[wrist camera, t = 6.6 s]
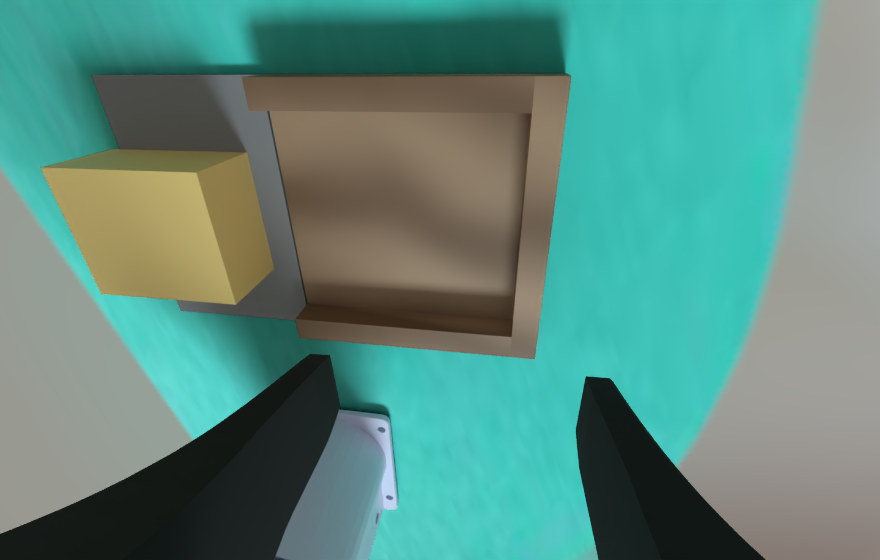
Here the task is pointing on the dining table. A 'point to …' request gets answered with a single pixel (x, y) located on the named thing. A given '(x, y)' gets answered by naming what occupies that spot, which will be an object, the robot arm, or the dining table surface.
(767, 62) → the dining table surface
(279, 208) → the mat
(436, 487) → the dining table surface
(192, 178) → the block
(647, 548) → the robot arm
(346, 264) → the brown wooden tray
